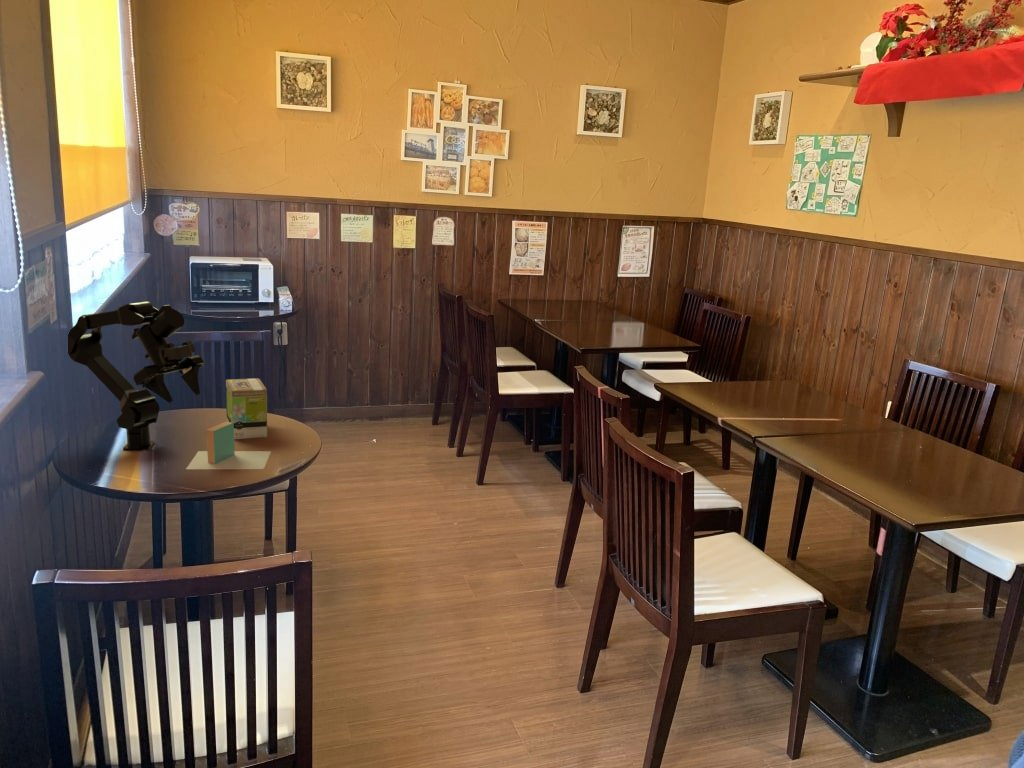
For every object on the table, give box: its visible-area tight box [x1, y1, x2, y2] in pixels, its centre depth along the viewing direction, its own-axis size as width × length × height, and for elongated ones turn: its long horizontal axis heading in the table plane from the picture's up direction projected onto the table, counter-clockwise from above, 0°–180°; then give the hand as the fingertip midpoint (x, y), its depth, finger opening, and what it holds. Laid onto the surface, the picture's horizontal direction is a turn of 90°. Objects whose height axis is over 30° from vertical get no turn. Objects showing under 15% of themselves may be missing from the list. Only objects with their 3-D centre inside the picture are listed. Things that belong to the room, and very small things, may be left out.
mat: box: [185, 450, 272, 470], centre depth 204 cm, size 14×19×1 cm
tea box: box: [225, 377, 268, 440], centre depth 227 cm, size 15×10×15 cm
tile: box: [206, 421, 236, 464], centre depth 204 cm, size 2×8×9 cm, turn 164°
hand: (185, 398), depth 201 cm, fingers open, 9 cm apart
